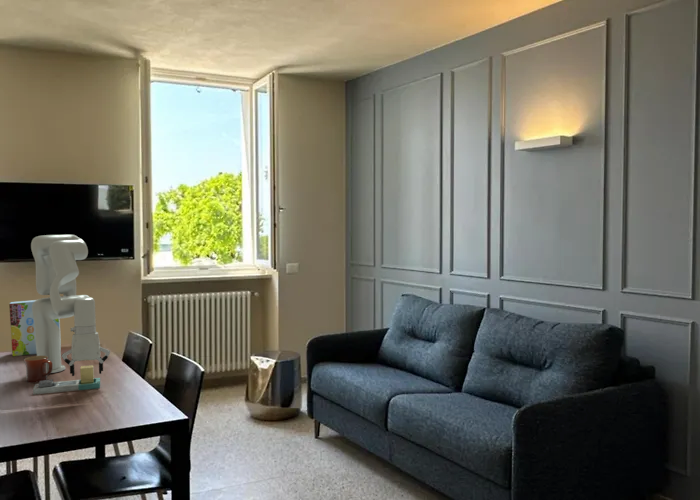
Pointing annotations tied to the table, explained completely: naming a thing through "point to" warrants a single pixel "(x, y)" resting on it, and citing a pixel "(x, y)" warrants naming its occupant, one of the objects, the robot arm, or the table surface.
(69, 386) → the rail
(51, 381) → the grey hollow block
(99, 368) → the robot arm
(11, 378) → the table surface
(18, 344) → the snack box
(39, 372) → the mug
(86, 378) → the wooden block
